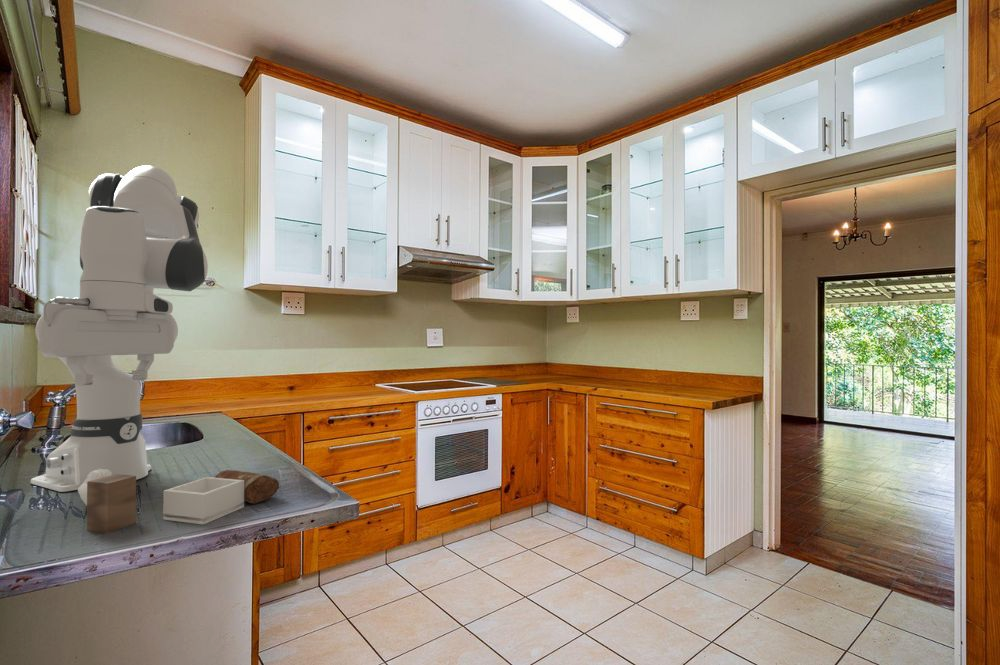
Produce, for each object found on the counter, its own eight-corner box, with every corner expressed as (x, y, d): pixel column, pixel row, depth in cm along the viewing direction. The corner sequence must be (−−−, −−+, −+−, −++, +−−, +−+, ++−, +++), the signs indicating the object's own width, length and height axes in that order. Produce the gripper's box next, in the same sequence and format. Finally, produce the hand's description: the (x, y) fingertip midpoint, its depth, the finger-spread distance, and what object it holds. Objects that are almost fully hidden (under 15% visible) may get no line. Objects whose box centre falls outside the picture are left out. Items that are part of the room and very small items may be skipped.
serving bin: (163, 519, 84) (163, 490, 84) (206, 503, 92) (206, 476, 92) (203, 524, 81) (203, 494, 81) (244, 507, 90) (244, 480, 90)
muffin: (73, 506, 90) (73, 469, 90) (113, 498, 95) (113, 462, 95) (83, 513, 87) (84, 474, 87) (124, 504, 92) (125, 467, 92)
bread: (247, 509, 89) (247, 479, 89) (208, 490, 101) (208, 463, 101) (281, 501, 94) (281, 472, 94) (240, 483, 106) (240, 457, 106)
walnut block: (86, 530, 79) (87, 481, 79) (115, 520, 84) (116, 473, 84) (107, 533, 78) (107, 483, 78) (135, 522, 82) (136, 475, 83)
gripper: (61, 294, 71) (60, 389, 70) (180, 304, 91) (180, 378, 90) (28, 295, 72) (26, 388, 72) (153, 305, 92) (152, 377, 92)
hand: (113, 382), depth 81 cm, fingers open, 8 cm apart
